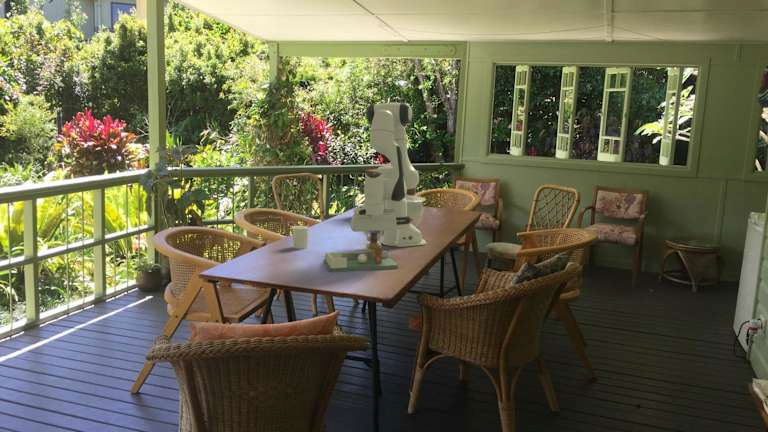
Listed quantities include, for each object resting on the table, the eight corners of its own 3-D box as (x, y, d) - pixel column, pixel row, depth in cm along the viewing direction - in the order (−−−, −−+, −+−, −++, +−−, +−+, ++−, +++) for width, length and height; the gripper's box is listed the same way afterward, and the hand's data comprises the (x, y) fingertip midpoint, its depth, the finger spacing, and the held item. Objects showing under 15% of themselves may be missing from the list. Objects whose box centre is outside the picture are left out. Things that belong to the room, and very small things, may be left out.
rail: (387, 257, 281) (387, 250, 280) (388, 257, 279) (388, 251, 279) (325, 259, 274) (325, 253, 273) (325, 260, 272) (325, 253, 272)
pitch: (387, 259, 283) (387, 247, 282) (397, 268, 266) (397, 255, 265) (323, 262, 275) (323, 250, 274) (330, 271, 259) (330, 258, 258)
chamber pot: (426, 231, 349) (427, 195, 346) (377, 231, 350) (377, 194, 346) (424, 223, 377) (425, 189, 374) (378, 222, 377) (379, 188, 374)
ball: (365, 261, 271) (365, 252, 270) (367, 264, 267) (368, 254, 266) (356, 262, 270) (356, 253, 269) (358, 264, 266) (358, 255, 265)
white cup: (297, 249, 300) (297, 229, 298) (289, 246, 306) (289, 226, 304) (311, 247, 305) (311, 227, 303) (303, 245, 311) (303, 225, 309)
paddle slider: (379, 255, 281) (379, 232, 279) (386, 262, 268) (386, 237, 267) (366, 256, 279) (366, 232, 277) (372, 263, 267) (373, 238, 265)
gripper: (394, 207, 280) (394, 238, 283) (350, 209, 275) (349, 240, 277) (398, 210, 274) (398, 241, 277) (352, 211, 269) (352, 242, 271)
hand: (373, 240), depth 277 cm, fingers closed on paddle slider, 3 cm apart
